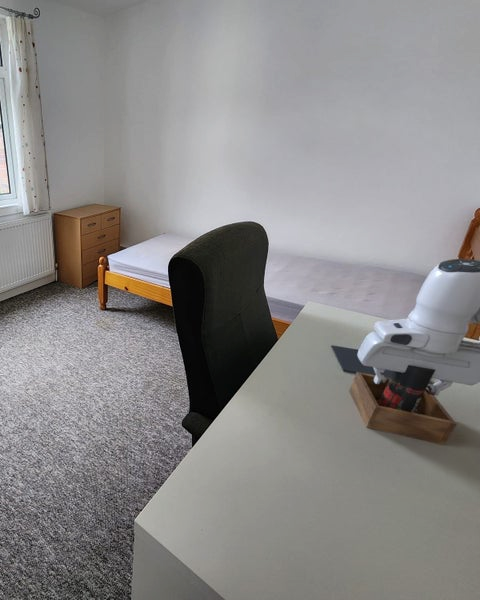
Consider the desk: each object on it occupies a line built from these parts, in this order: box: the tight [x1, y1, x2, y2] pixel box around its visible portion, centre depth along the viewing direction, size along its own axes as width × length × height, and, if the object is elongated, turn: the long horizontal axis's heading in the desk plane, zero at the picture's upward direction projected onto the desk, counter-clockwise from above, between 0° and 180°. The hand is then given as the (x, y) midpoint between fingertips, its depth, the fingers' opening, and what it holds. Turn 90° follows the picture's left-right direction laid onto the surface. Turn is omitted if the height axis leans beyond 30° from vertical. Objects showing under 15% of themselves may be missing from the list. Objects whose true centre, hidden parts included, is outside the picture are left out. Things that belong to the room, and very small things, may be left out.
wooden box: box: [349, 372, 458, 446], centre depth 79 cm, size 14×14×6 cm
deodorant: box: [377, 365, 435, 413], centre depth 77 cm, size 6×6×15 cm
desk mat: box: [330, 344, 434, 385], centre depth 98 cm, size 20×14×1 cm
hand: (404, 388), depth 77 cm, fingers open, 8 cm apart
